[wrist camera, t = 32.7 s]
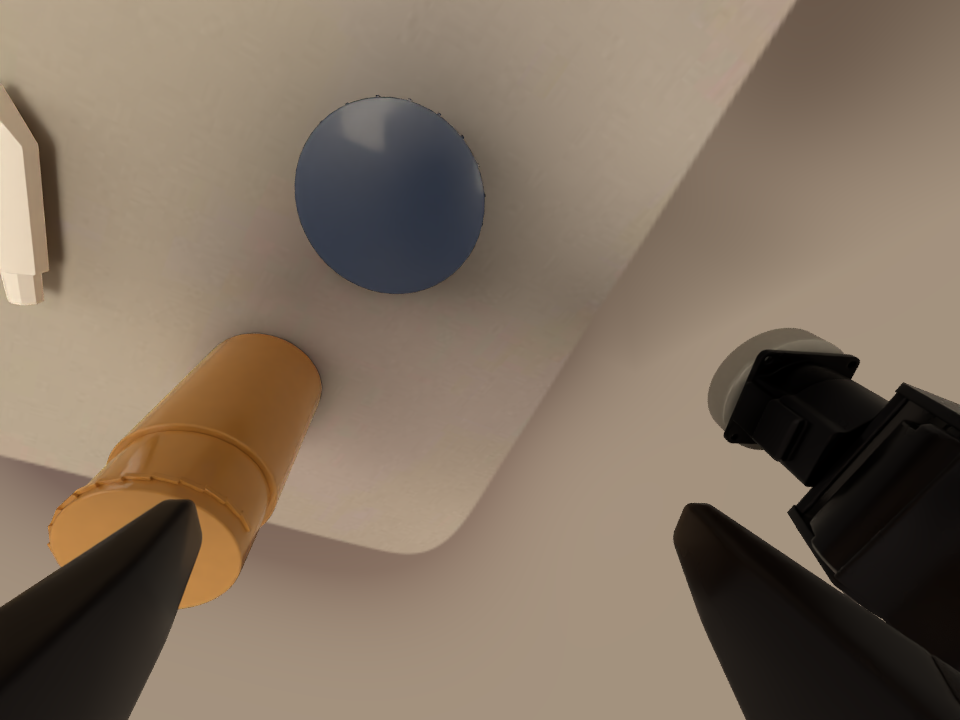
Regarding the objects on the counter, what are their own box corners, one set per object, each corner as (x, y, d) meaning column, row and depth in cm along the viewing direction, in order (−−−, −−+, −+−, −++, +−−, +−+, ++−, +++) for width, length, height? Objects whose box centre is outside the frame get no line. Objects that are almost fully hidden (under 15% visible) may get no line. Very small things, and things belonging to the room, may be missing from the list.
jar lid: (306, 91, 16) (283, 83, 13) (485, 111, 17) (495, 106, 14) (318, 269, 19) (301, 290, 16) (471, 279, 20) (477, 300, 17)
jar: (319, 336, 20) (236, 485, 11) (324, 430, 22) (258, 613, 14) (195, 329, 19) (9, 482, 11) (214, 427, 22) (72, 617, 13)
